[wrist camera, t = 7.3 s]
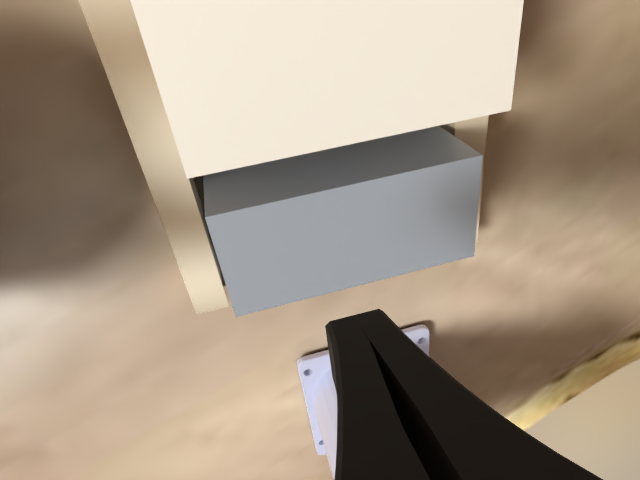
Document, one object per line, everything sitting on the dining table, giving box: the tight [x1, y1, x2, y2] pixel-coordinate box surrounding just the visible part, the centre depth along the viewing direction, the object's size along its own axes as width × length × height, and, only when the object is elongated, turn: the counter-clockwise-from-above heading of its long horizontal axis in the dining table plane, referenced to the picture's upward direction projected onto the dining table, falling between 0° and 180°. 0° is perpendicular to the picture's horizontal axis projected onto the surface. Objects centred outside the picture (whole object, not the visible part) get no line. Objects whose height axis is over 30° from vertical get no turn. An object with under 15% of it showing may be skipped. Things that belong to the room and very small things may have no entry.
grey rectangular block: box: [203, 126, 483, 317], centre depth 18 cm, size 4×10×4 cm, turn 97°
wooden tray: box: [79, 0, 489, 314], centre depth 16 cm, size 21×14×2 cm, turn 7°
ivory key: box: [130, 0, 524, 179], centre depth 13 cm, size 4×10×4 cm, turn 97°
